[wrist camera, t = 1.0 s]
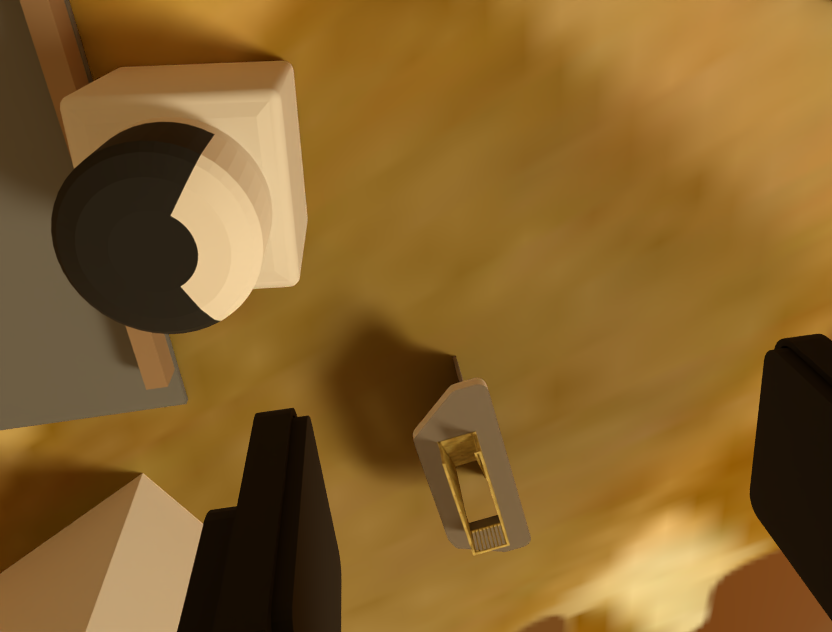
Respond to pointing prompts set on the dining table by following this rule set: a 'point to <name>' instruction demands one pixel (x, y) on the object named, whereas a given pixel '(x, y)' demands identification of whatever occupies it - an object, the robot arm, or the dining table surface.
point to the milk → (107, 568)
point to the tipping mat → (34, 253)
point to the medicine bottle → (181, 191)
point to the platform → (454, 445)
